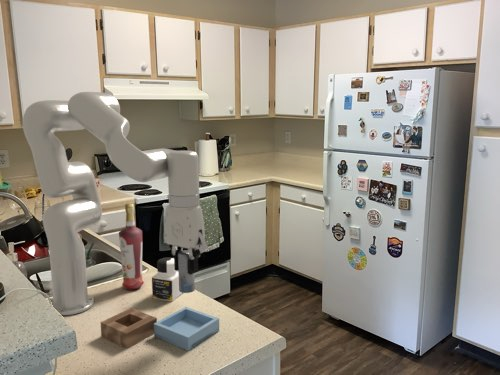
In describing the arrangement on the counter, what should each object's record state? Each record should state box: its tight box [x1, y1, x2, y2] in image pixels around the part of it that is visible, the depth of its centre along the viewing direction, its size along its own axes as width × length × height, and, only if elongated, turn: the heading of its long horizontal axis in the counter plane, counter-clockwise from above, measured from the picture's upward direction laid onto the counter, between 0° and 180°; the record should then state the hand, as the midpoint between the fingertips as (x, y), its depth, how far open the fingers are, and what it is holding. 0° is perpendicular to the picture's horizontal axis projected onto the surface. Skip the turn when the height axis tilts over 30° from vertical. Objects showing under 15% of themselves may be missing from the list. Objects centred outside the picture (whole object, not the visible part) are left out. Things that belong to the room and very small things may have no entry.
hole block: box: [100, 307, 158, 349], centre depth 116 cm, size 10×10×4 cm
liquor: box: [118, 202, 145, 291], centre depth 143 cm, size 7×7×28 cm
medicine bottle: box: [151, 257, 183, 302], centre depth 139 cm, size 7×7×12 cm
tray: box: [153, 306, 220, 352], centre depth 116 cm, size 12×12×4 cm
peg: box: [177, 249, 196, 294], centre depth 113 cm, size 4×4×10 cm
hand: (186, 270), depth 113 cm, fingers closed on peg, 4 cm apart
